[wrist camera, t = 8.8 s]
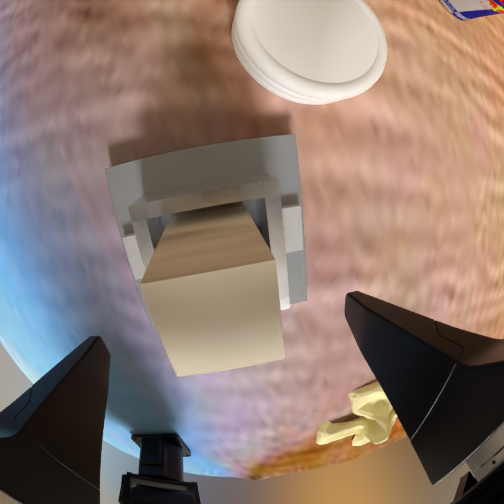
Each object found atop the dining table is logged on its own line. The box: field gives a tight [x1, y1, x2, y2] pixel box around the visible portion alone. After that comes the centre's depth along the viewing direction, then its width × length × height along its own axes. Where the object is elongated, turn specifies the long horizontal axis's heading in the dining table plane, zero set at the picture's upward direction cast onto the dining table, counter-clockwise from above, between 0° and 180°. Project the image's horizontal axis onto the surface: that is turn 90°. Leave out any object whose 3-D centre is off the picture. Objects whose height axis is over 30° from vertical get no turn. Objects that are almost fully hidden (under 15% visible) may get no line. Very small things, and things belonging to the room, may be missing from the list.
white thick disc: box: [231, 0, 387, 105], centre depth 13 cm, size 10×10×4 cm
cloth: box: [316, 381, 397, 446], centre depth 30 cm, size 22×19×6 cm
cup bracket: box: [128, 172, 290, 310], centre depth 16 cm, size 8×8×4 cm
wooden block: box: [140, 201, 285, 377], centre depth 13 cm, size 4×4×9 cm
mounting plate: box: [105, 134, 307, 328], centre depth 18 cm, size 12×12×2 cm
